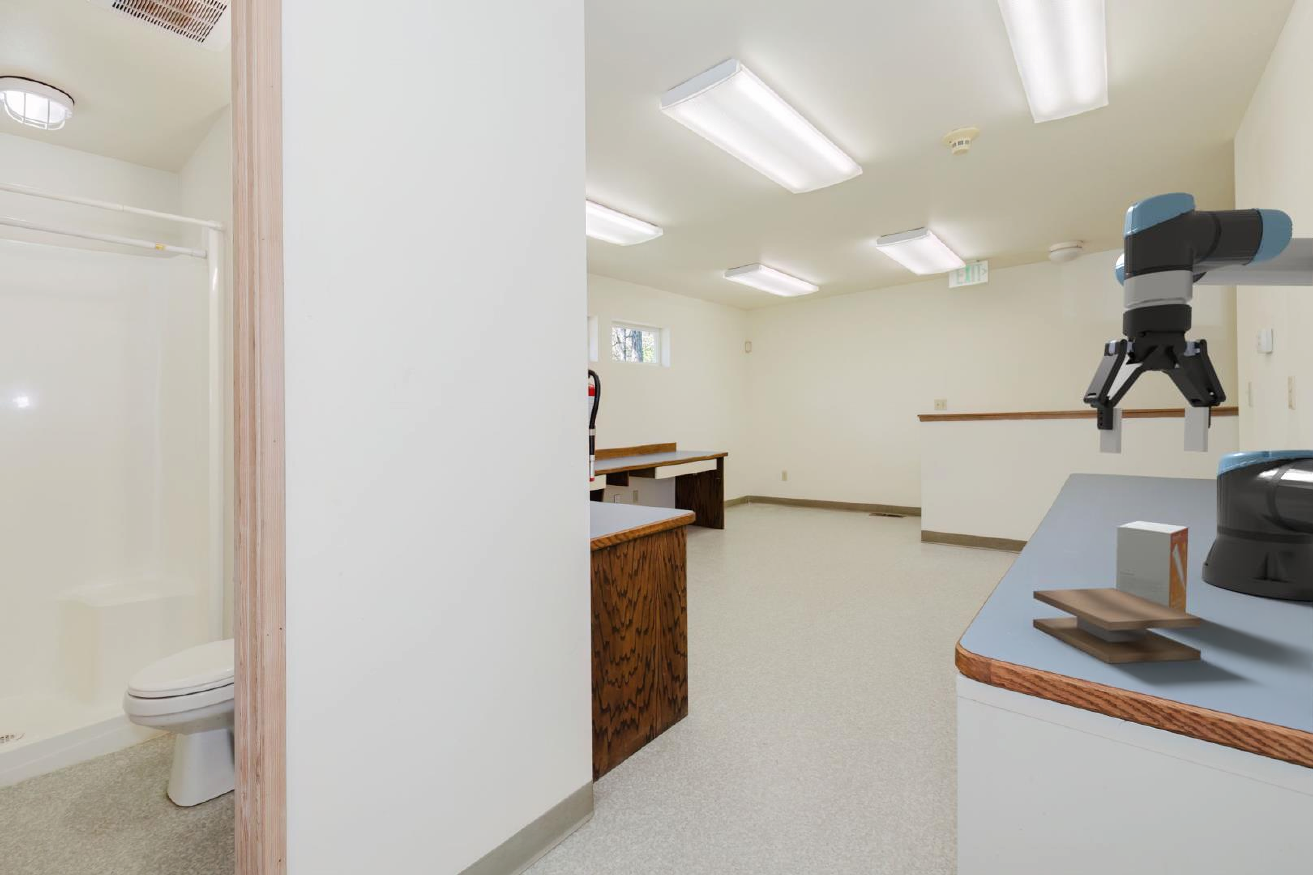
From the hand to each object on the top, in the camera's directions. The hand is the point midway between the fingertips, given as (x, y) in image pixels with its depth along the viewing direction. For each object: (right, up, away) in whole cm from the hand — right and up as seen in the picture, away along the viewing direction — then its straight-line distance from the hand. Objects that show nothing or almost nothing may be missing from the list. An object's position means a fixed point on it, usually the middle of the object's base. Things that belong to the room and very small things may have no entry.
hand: (1153, 452), depth 83 cm
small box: (0, -24, +1) cm, 24 cm away
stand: (-14, -25, -9) cm, 30 cm away
